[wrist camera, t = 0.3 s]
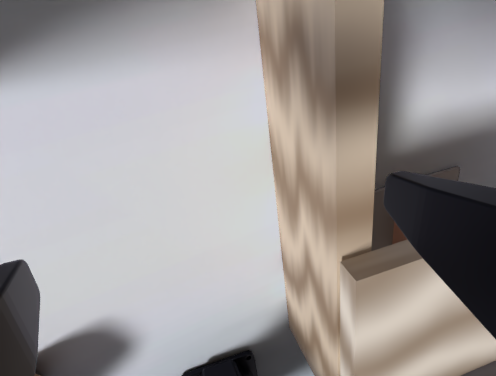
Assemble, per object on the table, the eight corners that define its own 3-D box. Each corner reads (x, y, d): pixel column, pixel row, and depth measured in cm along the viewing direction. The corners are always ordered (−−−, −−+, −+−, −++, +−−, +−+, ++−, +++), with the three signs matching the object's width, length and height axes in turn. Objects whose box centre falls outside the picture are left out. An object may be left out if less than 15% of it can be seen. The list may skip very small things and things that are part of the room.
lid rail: (309, 320, 34) (363, 410, 27) (289, 327, 34) (338, 420, 26) (278, -184, 17) (400, -312, 10) (237, -182, 17) (332, -313, 10)
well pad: (444, 241, 35) (446, 243, 35) (368, 267, 33) (371, 269, 33) (457, 166, 31) (460, 167, 31) (372, 190, 29) (375, 192, 29)
